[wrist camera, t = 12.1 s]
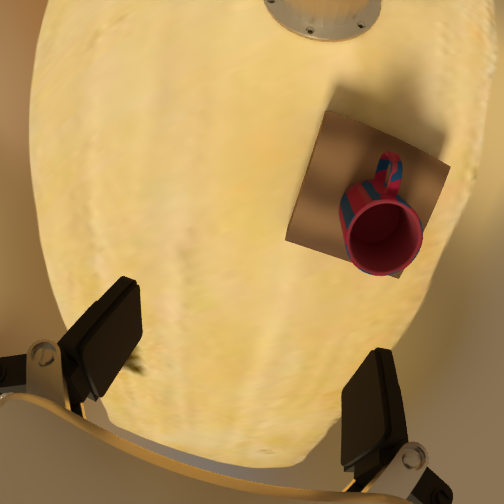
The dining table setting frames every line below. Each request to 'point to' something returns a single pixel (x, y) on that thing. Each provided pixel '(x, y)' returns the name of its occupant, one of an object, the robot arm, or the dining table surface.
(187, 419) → the dining table surface
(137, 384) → the dining table surface
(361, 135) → the walnut block
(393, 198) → the mug
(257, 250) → the dining table surface
